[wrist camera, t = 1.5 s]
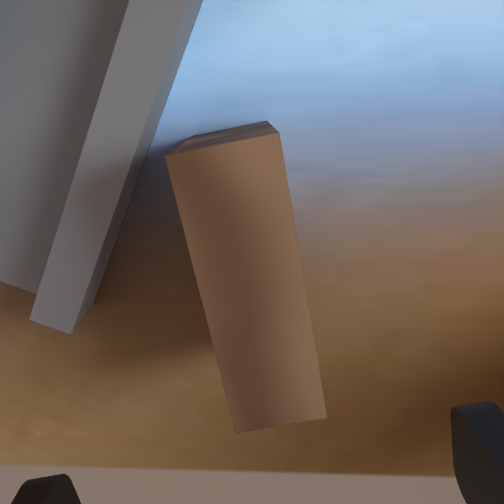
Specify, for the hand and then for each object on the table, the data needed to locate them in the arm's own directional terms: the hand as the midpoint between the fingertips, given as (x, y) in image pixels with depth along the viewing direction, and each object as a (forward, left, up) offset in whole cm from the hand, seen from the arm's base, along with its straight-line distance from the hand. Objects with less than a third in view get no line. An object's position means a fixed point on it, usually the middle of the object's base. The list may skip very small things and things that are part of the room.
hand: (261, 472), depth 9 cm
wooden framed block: (0, 0, -17) cm, 17 cm away
